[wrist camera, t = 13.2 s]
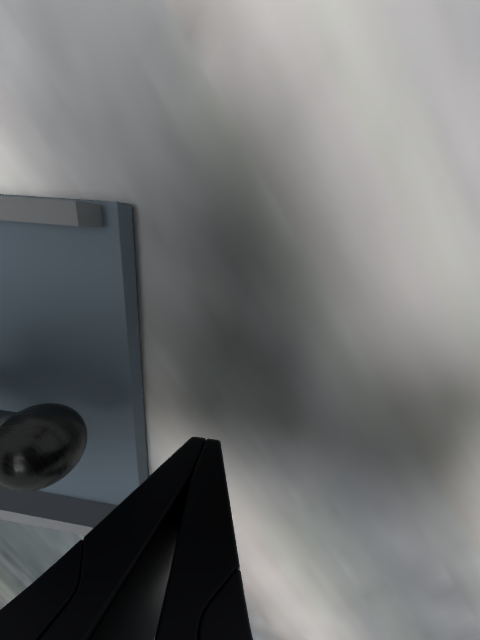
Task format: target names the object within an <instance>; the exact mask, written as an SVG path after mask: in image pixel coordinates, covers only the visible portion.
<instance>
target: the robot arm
mask: <svg viewBox="0 0 480 640" xmlns="http://www.w3.org/2000/svg"><path fill="white" fill-rule="evenodd" d="M239 569H240V565H239V559H238V552H237V546H236V539H235V533H234V526H233V520H232V513H231V507H230V501H229V494H228V488H227V481H226V475H225V468H224V462H223V455H222V449H221V443H220V441H219V440H214V439H207V440H206V439H205V438H200V437H192V438H190V439H189V440H188V441H187V442H186V443H185V444H184V445H183V446H182V447H180V448H179V449H178V450H177V451H176V452H175V453H174V454H173V455H172V456H171V457H170V458H169V459H168V460H166V461H165V462H164V463H163V464H162V465H161V466H160V467H159V468H158V469H157V470H156V471H155V472H154V473H152V474H151V475H150V476H149V477H148V478H147V479H146V480H145V481H144V482H143V483H142V484H141V485H139V486H138V487H137V488H136V489H135V490H134V491H133V492H132V493H131V494H130V495H129V496H128V497H127V498H125V499H124V500H123V501H122V502H121V503H120V504H119V505H118V506H117V507H116V508H115V509H114V510H112V511H111V512H110V513H109V514H108V515H107V516H106V517H105V518H104V519H103V520H102V521H101V522H100V523H98V524H97V525H96V526H95V527H94V528H93V529H92V530H91V531H90V532H89V533H88V534H87V535H86V536H85V537H84V541H83V540H80V541H79V542H78V543H77V544H76V545H75V546H73V547H72V548H71V549H70V550H69V551H68V552H67V553H66V554H65V555H64V556H63V557H61V558H60V559H59V560H58V561H57V562H56V563H55V564H54V565H52V566H51V567H50V568H49V569H48V570H47V571H46V572H45V573H44V574H42V575H41V576H40V577H39V578H38V579H37V580H36V581H35V582H33V583H32V584H31V585H30V586H29V587H27V588H26V589H25V590H24V591H23V592H21V593H20V594H19V595H18V596H17V597H15V598H14V599H13V600H12V601H11V602H9V603H8V604H7V605H6V606H5V607H3V608H2V609H1V610H0V640H154V637H155V640H253V637H252V633H251V629H250V623H249V618H248V612H247V607H246V601H245V596H244V590H243V583H242V577H241V571H240V570H239ZM155 634H156V635H155Z"/></svg>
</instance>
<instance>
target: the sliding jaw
mask: <svg viewBox="0 0 480 640" xmlns="http://www.w3.org/2000/svg"><path fill="white" fill-rule="evenodd" d="M87 435H88V434H87V427H86V424H85V422H84V420H83V418H82V417H81V415H80V414H79V413H78V412H77V411H75V410H74V409H72V408H71V407H68V406H66V405H63V404H58V403H43V404H37V405H34V406H31V407H28V408H25V409H23V410H21V411H19V412H11V411H5V410H0V486H2V487H4V488H6V489H9V490H12V491H18V492H30V491H36V490H40V489H43V488H46V487H48V486H51V485H53V484H55V483H56V482H58V481H59V480H61V479H62V478H64V477H65V476H66V475H67V474H68V473H70V472H71V471H72V470H73V468H74V467H75V466H76V465H77V463H78V462H79V461H80V459H81V457H82V455H83V453H84V451H85V448H86V444H87Z"/></svg>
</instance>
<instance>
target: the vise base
mask: <svg viewBox="0 0 480 640" xmlns="http://www.w3.org/2000/svg"><path fill="white" fill-rule="evenodd" d="M43 403H58V404H63V405H66V406H68V407H71V408H72V409H74V410H75V411H77V412H78V413H79V414H80V415H81V417H82V418H83V420H84V422H85V424H86V427H87V434H88V435H87V444H86V448H85V451H84V453H83V455H82V457H81V459H80V461H79V462H78V463H77V465H76V466H75V467H74V468H73V470H72V471H71V472H70V473H68V474H67V475H66V476H65V477H64V478H62V479H61V480H59V481H58V482H56V483H55V484H53V485H51V486H48V487H46V488H43V489H40V490H36V491H30V492H18V491H12V490H9V489H6V488H4V487H2V486H0V519H3V520H8V521H13V522H18V523H23V524H28V525H33V526H38V527H43V528H49V529H54V530H59V531H64V532H69V533H74V534H79V535H84V536H86V535H87V534H88V533H89V532H90V531H91V530H92V529H93V528H94V527H95V526H96V525H97V524H98V523H100V522H101V521H102V520H103V519H104V518H105V517H106V516H107V515H108V514H109V513H110V512H111V511H112V510H114V509H115V508H116V507H117V506H118V505H119V504H120V503H121V502H122V501H123V500H124V499H125V498H127V497H128V496H129V495H130V494H131V493H132V492H133V491H134V490H135V489H136V488H137V487H138V486H139V485H141V484H142V483H143V482H144V481H145V480H146V479H147V478H148V465H147V449H146V432H145V416H144V400H143V383H142V367H141V351H140V335H139V318H138V302H137V286H136V269H135V253H134V237H133V220H132V205H130V204H125V203H119V202H109V201H94V200H79V199H64V198H49V197H34V196H19V195H4V194H0V410H5V411H11V412H19V411H21V410H23V409H25V408H28V407H31V406H34V405H37V404H43Z"/></svg>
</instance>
